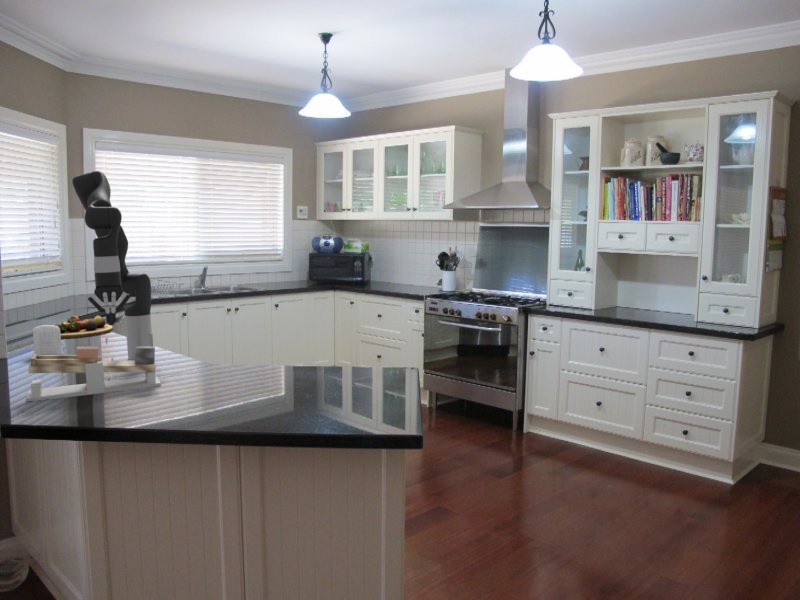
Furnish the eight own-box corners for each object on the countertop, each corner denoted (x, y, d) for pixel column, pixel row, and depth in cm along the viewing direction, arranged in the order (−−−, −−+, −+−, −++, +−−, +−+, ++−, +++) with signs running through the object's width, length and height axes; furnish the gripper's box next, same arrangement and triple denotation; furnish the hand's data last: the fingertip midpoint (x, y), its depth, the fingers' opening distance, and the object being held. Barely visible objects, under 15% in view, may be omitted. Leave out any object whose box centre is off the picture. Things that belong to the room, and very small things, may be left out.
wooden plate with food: (48, 331, 338) (46, 314, 337) (116, 326, 347) (115, 310, 346) (34, 341, 307) (32, 324, 306) (109, 336, 317) (108, 319, 316)
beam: (152, 366, 225) (153, 345, 224) (155, 371, 217) (156, 350, 216) (30, 367, 209) (30, 345, 209) (28, 373, 201) (29, 350, 201)
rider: (97, 361, 216) (97, 346, 215) (97, 364, 211) (98, 349, 211) (76, 362, 213) (76, 346, 213) (76, 364, 208) (76, 349, 208)
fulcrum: (156, 378, 227) (154, 350, 226) (160, 385, 217) (158, 357, 215) (29, 393, 211) (26, 363, 210) (26, 402, 200) (23, 371, 199)
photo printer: (63, 353, 275) (61, 323, 274) (60, 355, 271) (57, 325, 270) (37, 354, 274) (34, 324, 273) (33, 356, 270) (30, 326, 268)
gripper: (129, 268, 218) (132, 321, 220) (84, 271, 212) (88, 325, 215) (130, 270, 211) (134, 324, 213) (84, 272, 206) (88, 328, 208)
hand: (111, 324), depth 214 cm, fingers closed
